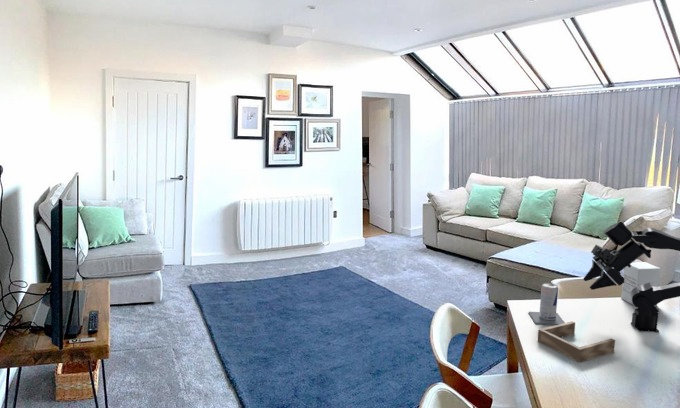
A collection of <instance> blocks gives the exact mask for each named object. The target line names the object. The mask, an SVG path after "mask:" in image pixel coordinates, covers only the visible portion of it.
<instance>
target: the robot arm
mask: <svg viewBox="0 0 680 408" xmlns="http://www.w3.org/2000/svg"><path fill="white" fill-rule="evenodd" d="M603 235H605V236H606V237H607V238H608V239H609V240H610V241H611V242H612V243H613V244H614V245H615V246H621V248H619V249H617V250H616V249H613V250H610V249H609V248H607V247H602V246H600V245H598V244H595V245H594V247H593V248H592V250H591V252H590V253H591V254H592V255H593V256H592V259H591V261H592V262H591V263H592V265H591V267H590V269H589V271H588V272H587V273H586V275H585V276H584V277H583V281H584V282H587V281H590V280H594V279H596V278H597V279H596V280H595V281H594V282H593V283H592V284H591V285H590V286H589V288H590V290H591V291H592V290H593V291H594V290H597V289H602V288H607V287H614V286H615V287H616V286H621V285H622V284H623V283H624V278H623V275H622V273H621V272H622V270H623V271H624V268H625V267H627V266H628V267H631V265H630V264H631V263H634V262H636V260H638V259H639V258H641V257H642V256H643V255H645V257H646V258H648V259H651V257H652V254H651V253H652V249H658V250H673V251H677V252H680V237H676V236H673V235H671V234H668V233H666V232H664V231H662V230H659V229H657V228H654V227H647V228H644V229H643V230H630V228H628V227H627V226H626V225H625V223H624V222H623V221H622V220H619V221H618V222H616V223H613V224H611V225H609V226H608V227H607V228H606V229H605V230H604V231H603ZM630 295H631V299H632V303H633V304H634V305H635V306H634V305H633V306H634V307H635V308H634V312H633V313H632V317H631V322H630V325H631V326H632V327H634V329H635V330H637V331H638V332H648V333H650V332H651V333H660V330H659V329H658V320H659V314H660V311H659V308H658V305H659V303H661V302H663V301H666V300H671V299H674V298H680V281H679V282H674V283H669V284H664V285H659V287H655V286H652V285H651V283H646V284H644V285H637V287H635V288H633V289H632V291H631V294H630ZM656 304H657V305H656Z"/></svg>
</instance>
